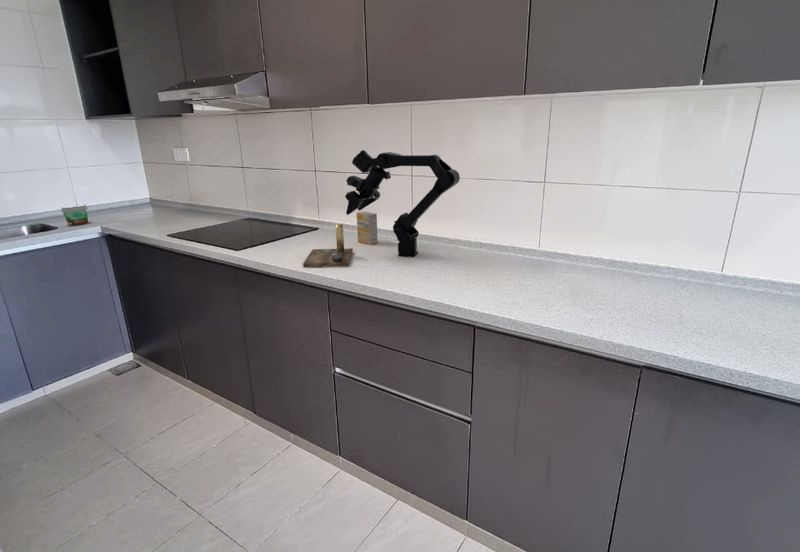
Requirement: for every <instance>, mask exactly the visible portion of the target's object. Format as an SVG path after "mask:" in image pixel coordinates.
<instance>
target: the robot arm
mask: <svg viewBox="0 0 800 552" xmlns="http://www.w3.org/2000/svg"><path fill="white" fill-rule="evenodd" d="M351 164H352V165H353V166H354V167H355V168H356V169H358V170H359V171H360V172H361V173H362V174H367V176H366V177H365V178H362V177H359V176H357V175H350V176H348V177H347V179H346V183H347V186H351V187H353V188H355V190H356V191H355V190H351V191H347V192H346V194H345V196H344V197H345V198H346V200H347V201H348V203H347V208H346V210H345V211H346V212H345V213H346V215H347V216H349V215H350V214H352V213H354V212H355V211H356V210H358V212H361V210H363V209H365V208H366V207H368V206H370V205H371V204H373V203H374V202H376V201H379V198H381V192H380V191H379V189H380V185H381V184H382V182H383V180H390V179H391V177H392V176H391V172H390V171H386V170H387V169H391V168H397V167H429V168H430V170H432V173H433V174H434V176H435V177H436V178H437V179H436V180H435V182H434V185H433V186H432V188H431V189H430V190H429V191H428V192H427V193H426V194H425V196H424V197H423V198H422V199H421V200H420V201H419V202H418V203H417V204H416V205H415V207H413V209H412V210H411V211H410V212H409V213H408V211H407V212H405V213H402V214H400V215H399V216H398V218H397V220H394V221H393V223H394V224H393V225H392V230H393V233H394V235H396V239H397V241H398V243H397V253H398V255H397V256H398V257H408V256H411V257H410V258H414V256H415V257H416V256H417V254H418V253H419V251H418V240H417V239H418V237H419V234H420V232H419V231H418V230H417V228H416V225H417V222H418V220H419V219H420V218H421V217H422V216H423V214H425V213H426V212H427V210H429V209H430V207H431V206H432V205H433V204H435V202H436V201H437V200H438V199H439V198H440V197H441V196H442V195H443V194H445V193H446V192H447V191H449V190H450V189H452V188H453V187H455V186H456V185H458V183H459V182H460V180H461V179H460V174H459V172H458V171H457V170H456V169H453V168H452V167H451V166H450V165H449V164H447V163H446V162H445V161H444V160H443V159H442V158H441V157H440V156H439V154H428V155H427V154H426V155H425V154H424V155H423V154H419V155H417V154H416V155H410V154H409V155H408V154H406V155H405V154H404V155H403V154H400V153H396V152H390V151H387V152H381V153H379V154H378V155H377V156H376V157H374V158H373V157H372V156H371V155H370V154H368V151H366V150H365V149H364V150H361V151H360V152H358V154H356V155H355V156H354V157H353V159H352V162H351Z"/></svg>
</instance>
